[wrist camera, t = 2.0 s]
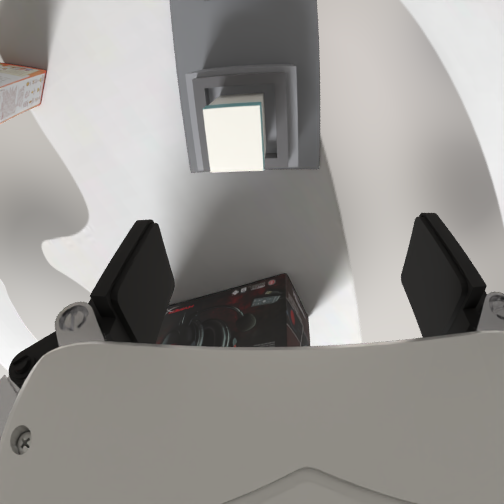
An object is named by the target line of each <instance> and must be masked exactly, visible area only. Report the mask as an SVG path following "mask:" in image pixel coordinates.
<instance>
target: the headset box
mask: <svg viewBox="0 0 504 504" xmlns="http://www.w3.org/2000/svg"><path fill="white" fill-rule="evenodd" d="M156 344H163V345H182V346H206V347H303V346H310V335H309V322H308V316H307V314H306V312H305V310H304V308H303V306H302V304H301V302H300V300H299V298H298V296H297V294H296V292H295V290H294V288H293V285H292V283H291V281H290V279H289V277H288V275H287V274H281V275H278V276H275V277H271V278H268V279H265V280H261V281H258V282H254V283H251V284H247V285H244V286H240V287H237V288H233V289H230V290H226V291H223V292H219V293H215V294H212V295H208V296H205V297H201V298H198V299H194V300H190V301H187V302H183V303H180V304H176V305H172V306H168V307H167V310H166V313H165V316H164V319H163V322H162V325H161V328H160V331H159V334H158V337H157V340H156Z"/></svg>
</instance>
